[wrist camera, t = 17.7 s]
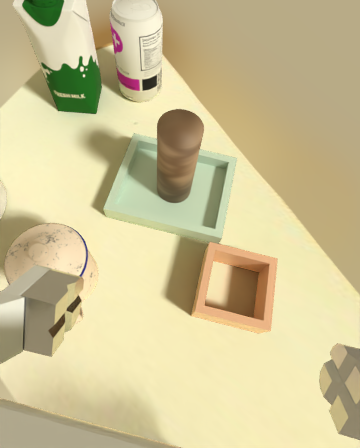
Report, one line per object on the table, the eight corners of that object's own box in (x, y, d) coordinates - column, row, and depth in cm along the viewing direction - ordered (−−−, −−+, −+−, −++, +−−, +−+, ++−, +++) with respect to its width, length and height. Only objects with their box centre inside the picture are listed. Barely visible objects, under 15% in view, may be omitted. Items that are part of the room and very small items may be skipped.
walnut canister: (152, 198, 46) (151, 139, 33) (161, 170, 48) (163, 104, 35) (186, 206, 46) (198, 150, 33) (193, 178, 48) (207, 115, 35)
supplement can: (120, 105, 55) (108, 22, 41) (119, 75, 58) (107, -11, 44) (162, 104, 55) (164, 22, 42) (159, 74, 59) (159, -10, 45)
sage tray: (106, 216, 45) (103, 208, 42) (134, 144, 51) (133, 133, 48) (217, 244, 44) (221, 238, 42) (232, 167, 50) (236, 158, 48)
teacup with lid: (25, 264, 41) (-21, 232, 30) (86, 237, 43) (64, 199, 32) (53, 344, 37) (12, 340, 26) (119, 309, 39) (105, 293, 28)
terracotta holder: (191, 315, 39) (194, 311, 35) (204, 252, 43) (209, 241, 39) (258, 333, 39) (270, 331, 35) (266, 267, 43) (277, 258, 39)
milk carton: (52, 114, 52) (-3, -13, 34) (62, 80, 56) (17, -51, 38) (100, 118, 53) (71, -5, 35) (107, 84, 57) (84, -44, 38)
